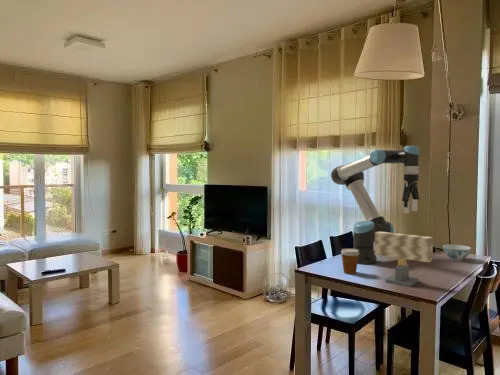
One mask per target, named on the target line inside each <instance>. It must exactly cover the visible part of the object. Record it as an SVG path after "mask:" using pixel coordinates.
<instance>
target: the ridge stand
mask: <svg viewBox="0 0 500 375" xmlns="http://www.w3.org/2000/svg"><path fill="white" fill-rule="evenodd" d="M394 268H395V273H393V274H392V275H390V276H388V277H387V278H384V281H385V283H387V284H393V285H394V284H395V285H398V286H403V287H409V288H411V287H413V286H414V285H416V284H417V283H419V281H420V278H419V277H413V276H410V275H409V274H410V263H408V259H402V258H397V265H396V266H395V267H394Z"/></svg>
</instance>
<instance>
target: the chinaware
mask: <svg viewBox="0 0 500 375" xmlns="http://www.w3.org/2000/svg"><path fill="white" fill-rule="evenodd" d="M442 249H443V251H444V253H445V254H446V256H448V258H449V259H450V260H452V261H457V262H462V261H463V259H465V258H467V257H468V256H469V254H470V253H471V251H472V247H470V246H467V245H462V244H453V243H452V244H449V243H448V244H443V245H442Z"/></svg>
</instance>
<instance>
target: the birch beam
mask: <svg viewBox="0 0 500 375" xmlns="http://www.w3.org/2000/svg"><path fill="white" fill-rule="evenodd" d="M433 249H434V237H433V236H426V235H416V234H405V233H396V232H394V233H389V232H380V231H378V232H375V242H374V251H375V255H376V256H377V255H378V256H381V257H383V256H385V257H390V258H396V259H398V258H402V259H407V260H410V261H417V262H423V263H424V262H425V263H431V262H432V261H433V259H434V258H433V257H434V256H433V254H434V253H433V251H434V250H433Z"/></svg>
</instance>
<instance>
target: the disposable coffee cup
mask: <svg viewBox="0 0 500 375" xmlns="http://www.w3.org/2000/svg"><path fill="white" fill-rule="evenodd" d="M340 253H341V258H342V260H341V261H342V268H343V273H344V274H347V275H355V274H356V273H357V268H358V263H357V262H358V255H359V251H358V250H357V249H353V248H342V249H341V251H340Z"/></svg>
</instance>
